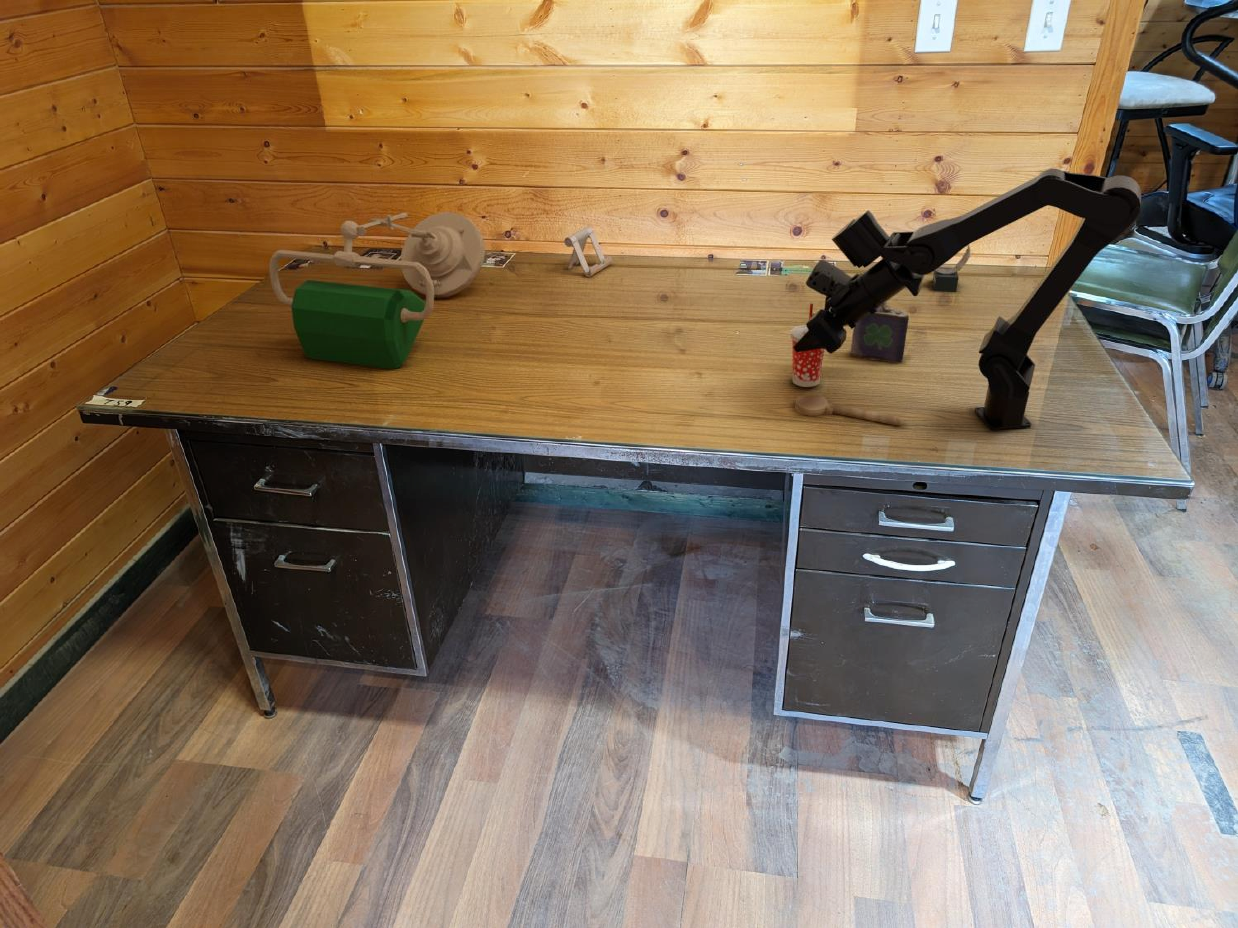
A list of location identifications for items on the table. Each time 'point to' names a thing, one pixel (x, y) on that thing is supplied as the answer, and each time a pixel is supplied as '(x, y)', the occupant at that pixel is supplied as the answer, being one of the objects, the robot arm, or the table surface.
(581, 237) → the tablet stand
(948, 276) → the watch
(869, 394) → the table surface
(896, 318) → the flask
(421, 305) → the banker's lamp
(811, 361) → the beverage cup
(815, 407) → the spoon
